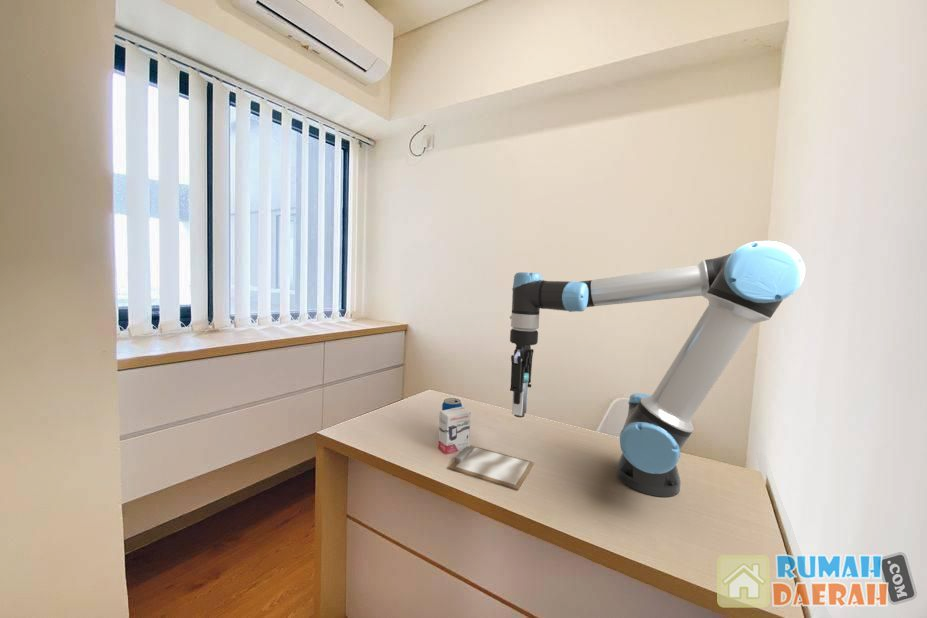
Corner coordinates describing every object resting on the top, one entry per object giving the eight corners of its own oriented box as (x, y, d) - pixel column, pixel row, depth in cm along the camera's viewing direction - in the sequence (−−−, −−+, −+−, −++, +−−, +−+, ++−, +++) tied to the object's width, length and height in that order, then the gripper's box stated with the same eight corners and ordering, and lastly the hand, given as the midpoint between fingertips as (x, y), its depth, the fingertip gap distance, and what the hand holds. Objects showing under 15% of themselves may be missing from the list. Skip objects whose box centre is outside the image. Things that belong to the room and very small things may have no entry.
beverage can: (464, 437, 116) (465, 402, 115) (447, 442, 112) (449, 405, 111) (453, 430, 121) (455, 396, 120) (437, 434, 117) (438, 399, 116)
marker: (528, 414, 99) (530, 373, 98) (523, 419, 96) (526, 376, 95) (512, 411, 101) (515, 370, 100) (508, 415, 98) (510, 373, 97)
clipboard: (533, 463, 101) (534, 458, 100) (517, 490, 87) (518, 484, 87) (470, 446, 109) (471, 441, 109) (447, 468, 96) (447, 462, 96)
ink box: (446, 455, 104) (447, 416, 103) (437, 448, 108) (439, 410, 107) (469, 448, 108) (471, 411, 108) (460, 441, 113) (462, 406, 112)
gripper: (520, 324, 105) (515, 400, 107) (500, 330, 90) (496, 419, 92) (545, 327, 102) (540, 405, 104) (529, 333, 87) (523, 425, 89)
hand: (519, 411), depth 98 cm, fingers closed on marker, 4 cm apart
